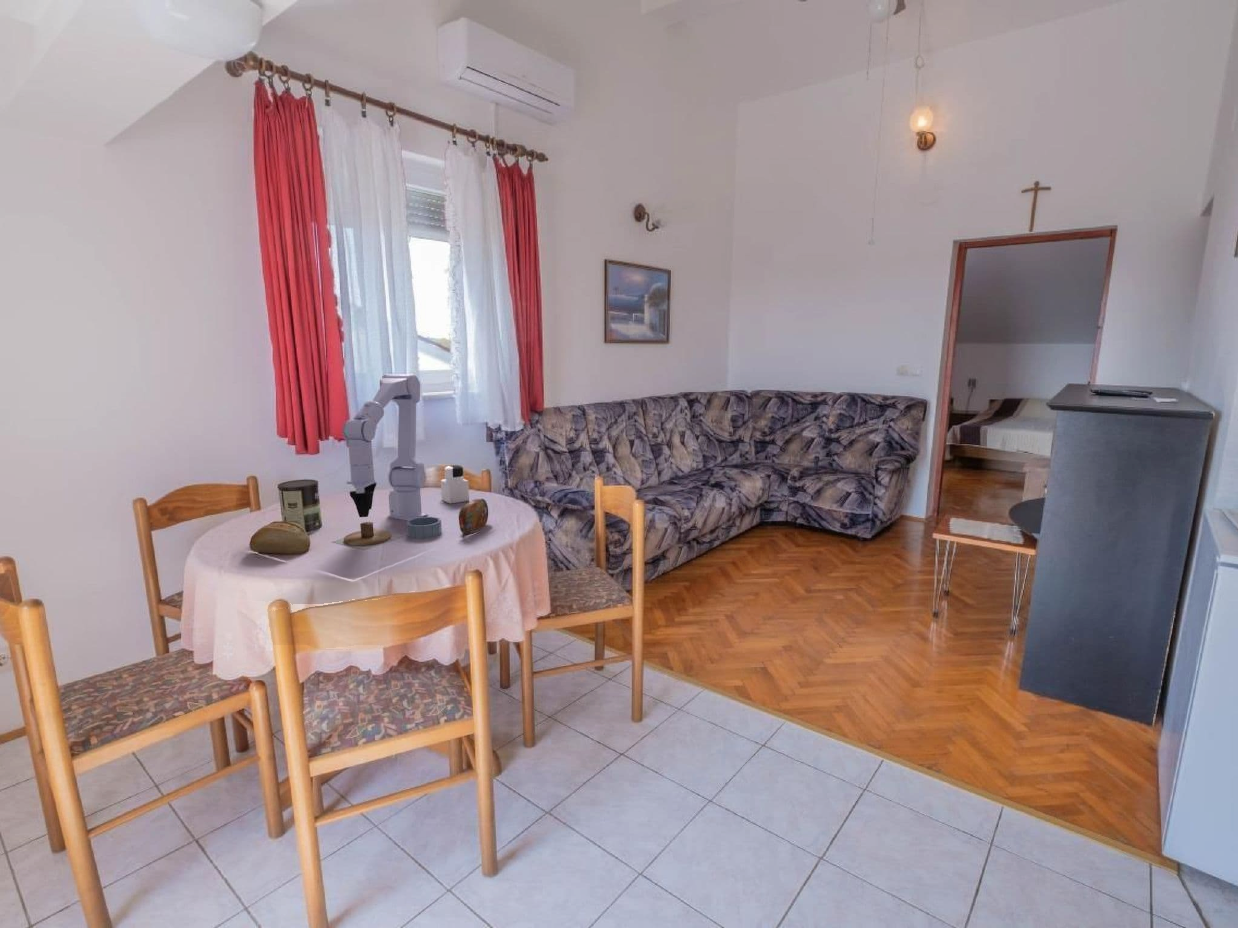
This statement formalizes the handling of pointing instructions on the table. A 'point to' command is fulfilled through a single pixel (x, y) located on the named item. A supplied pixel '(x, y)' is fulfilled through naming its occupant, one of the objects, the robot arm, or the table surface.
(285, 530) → the bread roll
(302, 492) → the coffee can
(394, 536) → the mat
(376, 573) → the table surface
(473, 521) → the tin
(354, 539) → the lid
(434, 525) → the bowl
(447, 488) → the medicine bottle
